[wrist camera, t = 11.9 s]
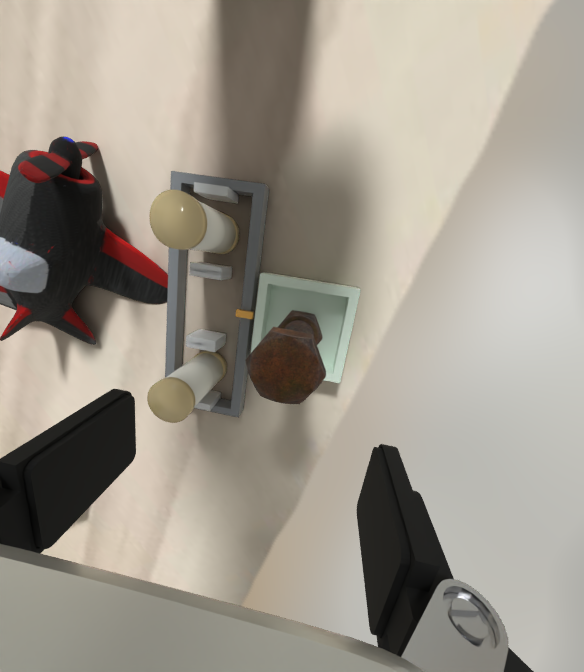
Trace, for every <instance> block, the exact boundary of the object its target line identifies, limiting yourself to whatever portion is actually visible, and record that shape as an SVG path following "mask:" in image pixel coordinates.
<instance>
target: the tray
mask: <svg viewBox="0 0 584 672" xmlns="http://www.w3.org/2000/svg"><path fill="white" fill-rule="evenodd" d="M360 291H361V290H360V289H359V288H358V287H352V286H346V285H340V284H334V283H328V282H322V281H316V280H310V279H304V278H298V277H292V276H286V275H280V274H274V273H268V272H264V273H260V278H259V287H258V295H257V303H256V312H255V320H254V329H253V337H252V345H251V352H252V351H253V350H254V349H255V348H256V347H257V345H258V344H259V343H260V342H261V341H262V339H263V338H264V337H265V336H266V335H267V333H268V332H269V331H270V330H271V329H272V328H273V327H278V326H279V325H280V324H281V322H282V321H283V320H284V319H285V318H286V316H287V315H288V314H289V313H290V312H291V311H292V310H294V311H301V312H307V313H311V314H315V316H316V318H317V321H318V324H319V327H320V330H321V333H322V336H323V338H322V340H321V341H320V343H319V344H318V345H317V347H318V350H319V353H320V355H321V358H322V361H323V364H324V367H325V369H326V377H325V378H324V380H325V381H330V382H335V383H340V381H341V377H342V372H343V368H344V363H345V359H346V354H347V350H348V345H349V341H350V336H351V332H352V327H353V322H354V318H355V313H356V309H357V304H358V300H359V295H360Z"/></svg>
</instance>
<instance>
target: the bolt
mask: <svg viewBox="0 0 584 672" xmlns="http://www.w3.org/2000/svg"><path fill="white" fill-rule="evenodd" d="M322 338H323V336H322V333H321V330H320V327H319V324H318V321H317V318H316V316H315V314H311V313H307V312H301V311H294V310H292V311H291V312H290V313H289V314H288V315H287V316H286V318H285V319H284V320H283V321H282V322H281V324H280V325H279V326H278V327H273V328H272V329H271V330H270V331H269V332H268V333H267V335H266V336H265V337H264V338H263V339H262V341H261V342H260V343H259V344H258V345H257V347H256V348H255V349H254V350H253V351H252V352H251V354H250V355H249V356H248V357H247V359H246V360H245V361H246V365H247V369H248V372H249V375H250V378H251V380H252V382H253V384H254V386H255V388H256V390H257V392H258V393H259V394H260V396H262V397H264V398H266V399H269V400H272V401H275V402H279V403H285V404H300V403H301V402H303V401H304V400H305V399H306V398H307V397H308V396H309V395H310V394H311V393H312V392H313V391H315V390H316V388H317V387H318V386H319V385H320V384H321V382H322V381H323V380H324V378H325V377H326V369H325V367H324V364H323V361H322V358H321V355H320V353H319V350H318V347H317V345H318V344H319V343H320V341H321V340H322Z"/></svg>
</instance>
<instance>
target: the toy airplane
mask: <svg viewBox="0 0 584 672" xmlns="http://www.w3.org/2000/svg"><path fill="white" fill-rule="evenodd" d="M97 149H98V146H97V144H95V143H92V142H76V143H75V142H74V141H73V140H72V139H70V138H68V137H59V138H57V139H55V140H53V141H52V143H51V145H50V147H49V152H44V151H38V150H28V151H24V152H22V153H21V154H20V155H19V156H17V158H16V160H15V162H14V164H13V166H12V169H11V172H10V175H9V174H7V173H4V172H2V171H0V304H1V305H4V306H6V307H9V308H12V309H14V310H17V311H16V313H15V315H14V317H13V318H12V320H11V321H10V323H9V324H8V326H7V327H6V329H5V330H4V332H3V334H2V336H1V337H0V341H2V340H5V339H6V338H8V337H9V336H11V335H13V334H14V333H16V332H17V331H19V330H20V329H21V328H23V327H25V326H26V325H28V324H29V323H31V322H33V321H42V322H45V323H48V324H50V325H52V326H54V327H56V328H58V329H60V330H62V331H64V332H66V333H68V334H70V335H72V336H74V337H76V338H78V339H80V340H82V341H84V342H87V343H89V344H93V345H95V344H96V340H95V338H94V336H93V334H92V332H91V331H90V329H89V328H88V327H87V326H86V324H85V323H84V322H83V321H82V320H81V319H80V318H79V316H78V315H77V314H76V313H75V311H74V310H73V308H72V305H71V304H72V302H73V300H74V299H75V298H76V296H77V295H78V294H79V293H80V291H81V290H82V289H83V288H84V287H85V286H87V285H91V286H96V287H99V288H103V289H106V290H108V291H111V292H114V293H117V294H120V295H122V296H125V297H128V298H131V299H134V300H137V301H141V302H145V303H152V304H161V303H165V302H167V298H168V274H167V273H166V272H165V271H164V270H163V269H161V268H160V267H159V266H158V265H157V264H156V263H154V262H153V261H152V260H151V259H149V258H148V257H147V256H145V255H144V254H143V253H141V252H140V251H139V250H137V249H136V248H135V247H133V246H132V245H130V244H129V243H127V242H126V241H124V240H123V239H121V238H120V237H118V236H117V235H116V234H114V233H113V232H111V231H110V230H109V229H108V228H107V227H106V226H105V225H104V224H103V221H102V190H101V187H100V184H99V182H98V181H97V180H96V178H95V177H94V176H93V175H92V174H91V173H89V172H88V171H87V170H85V169H84V168H82V167H81V166H82V159H84V158H87V157H89V156H91V155H92V154H93V153H95V152H96V151H97Z"/></svg>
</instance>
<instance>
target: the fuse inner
mask: <svg viewBox="0 0 584 672" xmlns="http://www.w3.org/2000/svg"><path fill="white" fill-rule="evenodd" d="M150 225H151V228H152V230H153V233H154V234H155V236H156V237H157V239H158V240H159V241H160V242H161V243H163V244H164V245H166V246H167V247H170V248H173V249H180V250H188V249H190V250H198V251H205V252H212V253H215V254H227V253H229V252H231V251H232V250H233V249H234V248H235V247H236V245H237V243H238V241H239V229H238V226H237V224H236V222H235V221H234V219H233V218H231V217H230V216H229V215H227V214H225V213H223V212H219V211H217V210H215V209H213V208H211V207H209V206H207V205H205V204H203V203H202V202H200V201H198V200H197V199H195V198H194V197H193V196H191V195H189V194H187V193H185V192H183V191H180V190H167V191H164V192H162V193H161V194H159V195H158V196H157V197H156V199H155V200H154V201H153V203H152V206H151V209H150Z"/></svg>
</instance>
